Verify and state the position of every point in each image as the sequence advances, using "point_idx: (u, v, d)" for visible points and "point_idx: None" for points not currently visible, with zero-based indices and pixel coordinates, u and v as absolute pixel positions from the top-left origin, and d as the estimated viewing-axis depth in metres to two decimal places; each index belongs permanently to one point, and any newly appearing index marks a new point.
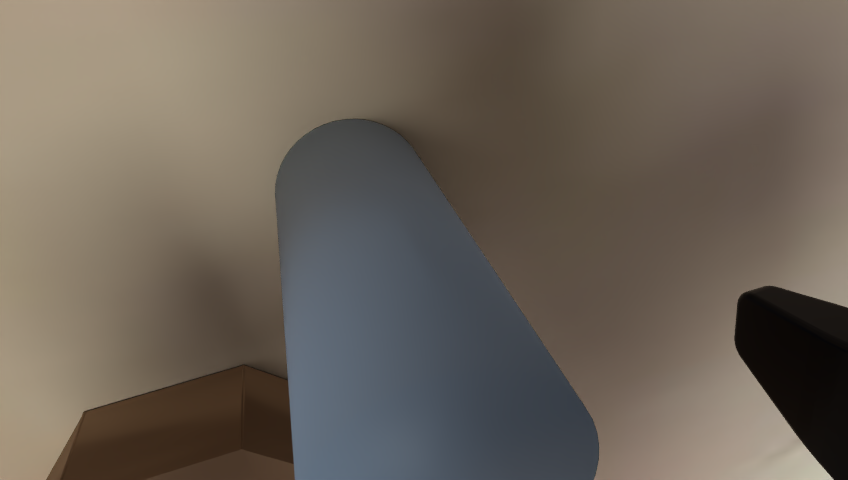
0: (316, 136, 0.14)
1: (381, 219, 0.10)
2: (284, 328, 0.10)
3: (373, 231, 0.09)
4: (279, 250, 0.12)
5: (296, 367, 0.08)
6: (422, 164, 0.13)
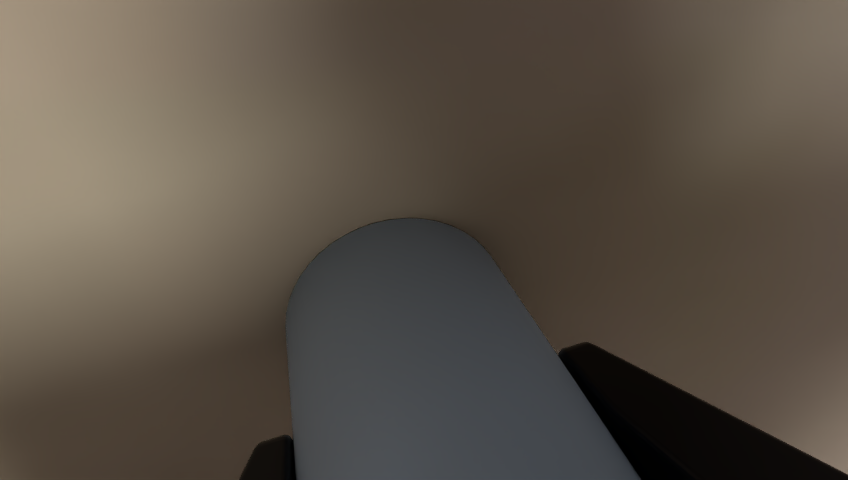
0: (351, 252, 0.09)
1: None
2: None
3: None
4: (296, 471, 0.07)
5: None
6: (518, 300, 0.08)
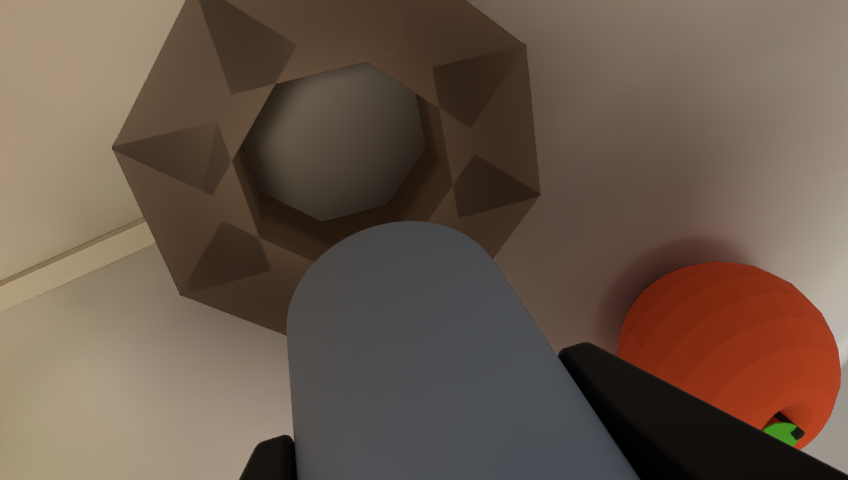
0: (352, 255, 0.09)
1: None
2: None
3: None
4: (297, 475, 0.07)
5: None
6: (520, 303, 0.08)
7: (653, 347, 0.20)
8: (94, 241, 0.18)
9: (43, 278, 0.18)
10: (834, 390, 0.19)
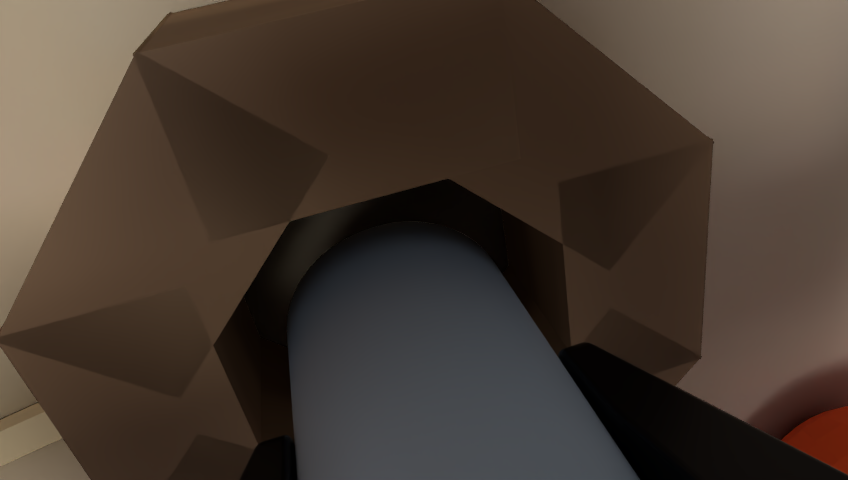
0: (352, 255, 0.09)
1: None
2: None
3: None
4: (297, 476, 0.07)
5: None
6: (520, 303, 0.08)
7: None
8: (6, 421, 0.12)
9: None
10: None
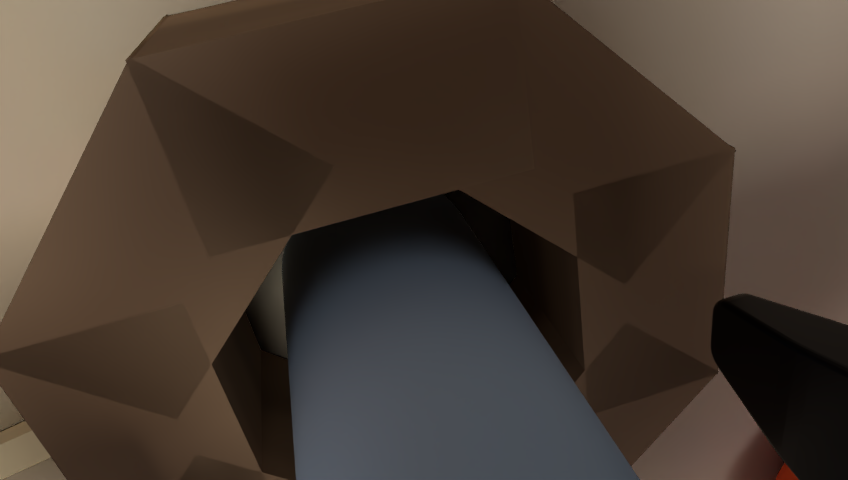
0: None
1: (447, 372, 0.06)
2: None
3: (439, 401, 0.06)
4: (289, 373, 0.09)
5: None
6: (478, 242, 0.10)
7: None
8: None
9: None
10: None
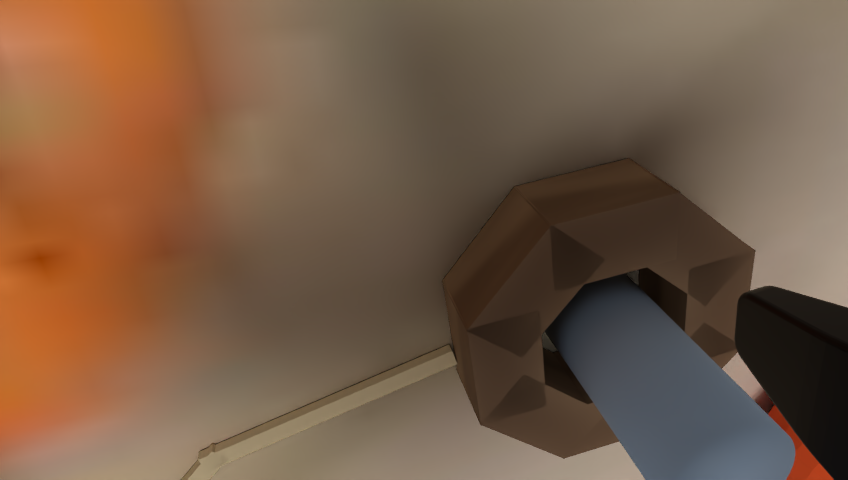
0: None
1: (658, 336, 0.18)
2: (602, 392, 0.18)
3: (660, 345, 0.18)
4: (567, 340, 0.20)
5: (641, 418, 0.17)
6: (636, 284, 0.22)
7: (805, 454, 0.25)
8: (392, 371, 0.23)
9: (353, 400, 0.23)
10: None
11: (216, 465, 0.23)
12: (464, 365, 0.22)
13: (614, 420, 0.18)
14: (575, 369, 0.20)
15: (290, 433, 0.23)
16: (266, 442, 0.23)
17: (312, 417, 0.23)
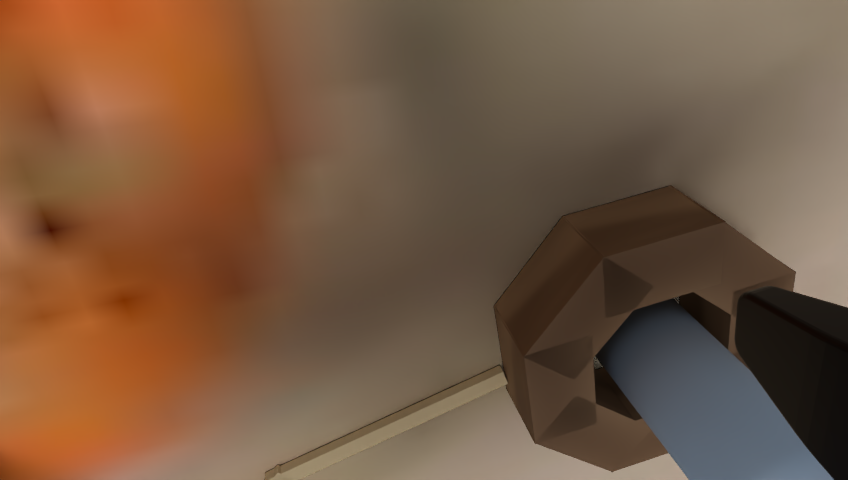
0: None
1: (709, 359, 0.19)
2: (655, 413, 0.19)
3: (710, 368, 0.19)
4: (617, 361, 0.21)
5: (697, 439, 0.18)
6: (679, 305, 0.23)
7: None
8: (446, 392, 0.24)
9: (409, 421, 0.24)
10: None
11: None
12: (517, 386, 0.23)
13: (669, 440, 0.19)
14: (626, 390, 0.21)
15: (351, 453, 0.24)
16: (328, 462, 0.24)
17: (371, 438, 0.24)
